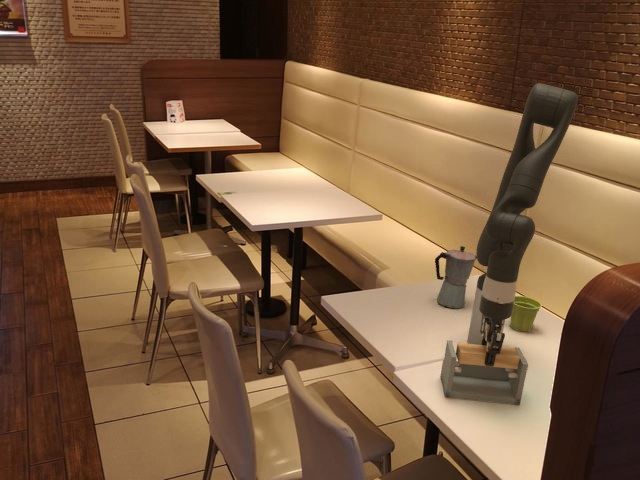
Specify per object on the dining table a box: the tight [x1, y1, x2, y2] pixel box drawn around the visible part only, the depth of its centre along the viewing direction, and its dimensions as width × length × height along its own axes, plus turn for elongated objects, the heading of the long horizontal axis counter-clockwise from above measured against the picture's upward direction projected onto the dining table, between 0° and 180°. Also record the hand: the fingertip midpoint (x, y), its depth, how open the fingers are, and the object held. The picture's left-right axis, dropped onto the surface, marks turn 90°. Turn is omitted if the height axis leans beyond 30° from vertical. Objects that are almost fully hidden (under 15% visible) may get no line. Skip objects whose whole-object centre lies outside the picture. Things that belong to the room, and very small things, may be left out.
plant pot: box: [510, 295, 543, 332], centre depth 194 cm, size 9×9×9 cm
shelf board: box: [455, 342, 520, 369], centre depth 154 cm, size 5×14×3 cm, turn 87°
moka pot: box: [434, 245, 477, 309], centre depth 205 cm, size 10×15×20 cm, turn 112°
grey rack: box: [439, 340, 529, 406], centre depth 156 cm, size 10×18×11 cm, turn 87°
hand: (486, 359), depth 154 cm, fingers closed on shelf board, 5 cm apart
